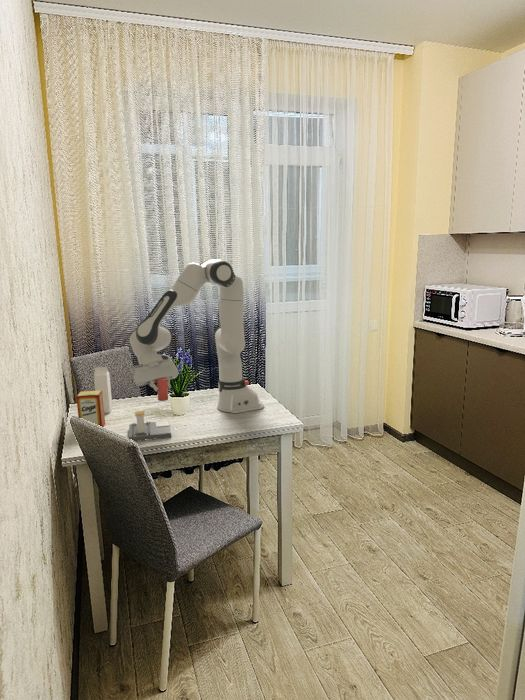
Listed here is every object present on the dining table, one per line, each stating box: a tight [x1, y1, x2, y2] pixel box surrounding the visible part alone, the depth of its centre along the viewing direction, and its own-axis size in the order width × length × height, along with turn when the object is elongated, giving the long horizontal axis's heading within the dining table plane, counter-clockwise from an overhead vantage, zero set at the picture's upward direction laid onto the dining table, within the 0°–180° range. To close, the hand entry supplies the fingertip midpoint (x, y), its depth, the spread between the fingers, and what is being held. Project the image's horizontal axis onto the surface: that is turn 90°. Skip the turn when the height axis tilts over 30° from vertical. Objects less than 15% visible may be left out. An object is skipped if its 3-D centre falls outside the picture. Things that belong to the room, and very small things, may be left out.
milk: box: [93, 366, 113, 414], centre depth 237 cm, size 6×6×22 cm
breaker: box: [134, 410, 147, 436], centre depth 204 cm, size 4×5×9 cm
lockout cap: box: [156, 378, 169, 402], centre depth 214 cm, size 4×4×9 cm
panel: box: [128, 420, 172, 442], centre depth 211 cm, size 17×15×3 cm
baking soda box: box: [75, 390, 106, 428], centre depth 217 cm, size 10×6×16 cm
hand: (163, 389), depth 213 cm, fingers closed on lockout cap, 4 cm apart
